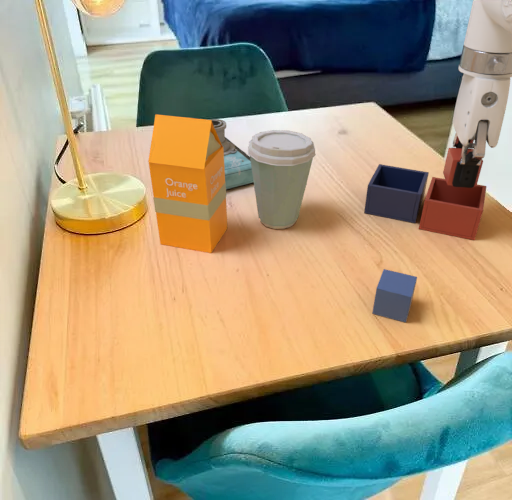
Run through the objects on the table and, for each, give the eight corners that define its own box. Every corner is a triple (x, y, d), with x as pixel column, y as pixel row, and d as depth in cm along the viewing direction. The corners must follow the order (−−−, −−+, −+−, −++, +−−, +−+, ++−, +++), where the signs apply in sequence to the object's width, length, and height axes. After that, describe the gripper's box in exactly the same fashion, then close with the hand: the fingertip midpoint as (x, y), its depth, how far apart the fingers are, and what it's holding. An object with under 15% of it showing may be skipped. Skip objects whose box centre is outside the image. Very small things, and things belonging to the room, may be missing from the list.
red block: (470, 174, 82) (477, 149, 80) (476, 187, 79) (483, 161, 76) (442, 172, 83) (448, 147, 80) (447, 185, 79) (453, 159, 77)
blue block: (411, 302, 69) (417, 276, 66) (406, 322, 65) (411, 296, 63) (379, 293, 70) (383, 268, 68) (372, 313, 67) (376, 288, 64)
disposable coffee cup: (257, 201, 92) (256, 121, 83) (316, 208, 89) (321, 126, 81) (241, 232, 83) (238, 147, 74) (305, 241, 81) (310, 154, 72)
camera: (258, 136, 91) (207, 148, 88) (258, 183, 97) (210, 196, 93) (220, 109, 103) (173, 118, 100) (222, 152, 109) (178, 162, 105)
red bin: (478, 214, 87) (486, 185, 84) (474, 240, 81) (483, 210, 77) (426, 204, 90) (432, 176, 87) (418, 229, 83) (424, 199, 80)
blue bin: (423, 199, 91) (428, 172, 88) (415, 223, 85) (421, 194, 82) (375, 190, 94) (379, 163, 91) (364, 213, 88) (367, 185, 85)
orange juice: (179, 219, 87) (166, 105, 75) (228, 227, 84) (222, 110, 73) (159, 244, 80) (141, 124, 69) (211, 254, 78) (202, 131, 67)
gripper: (535, 79, 63) (496, 207, 73) (502, 46, 76) (473, 157, 87) (472, 77, 64) (443, 203, 74) (451, 44, 77) (428, 155, 88)
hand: (460, 177), depth 81 cm, fingers closed on red block, 4 cm apart
